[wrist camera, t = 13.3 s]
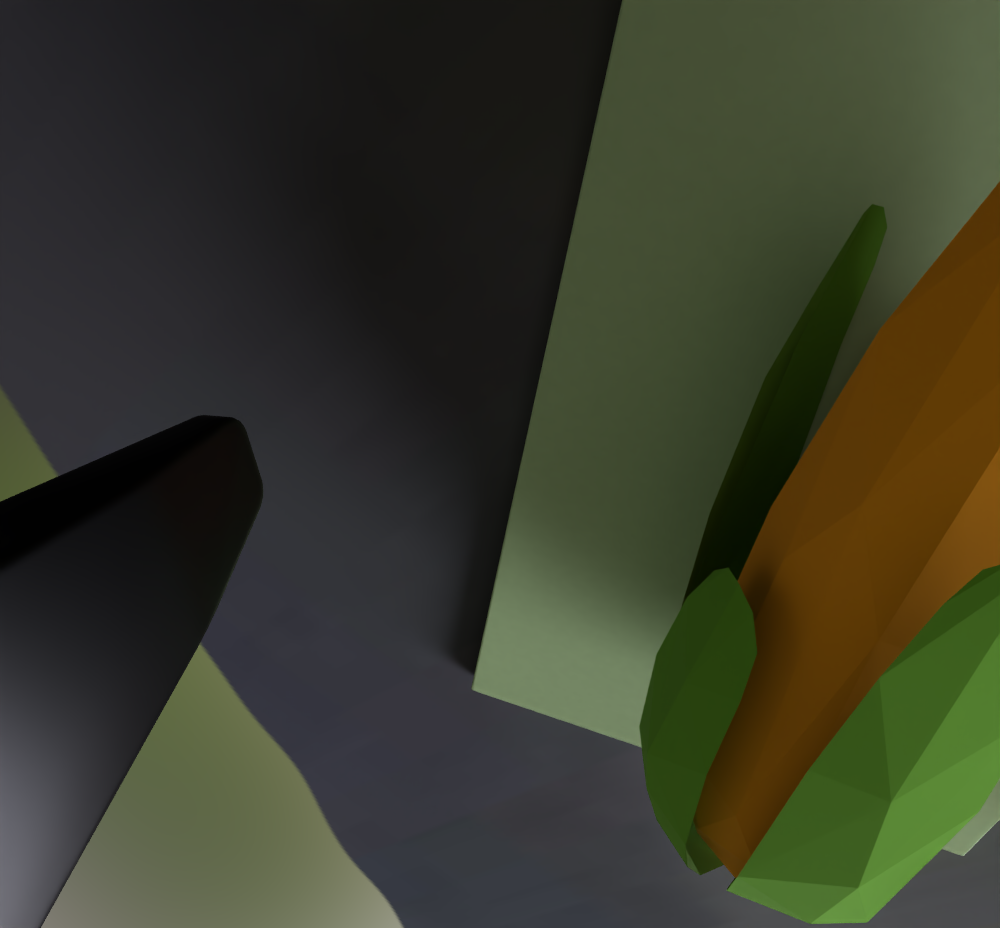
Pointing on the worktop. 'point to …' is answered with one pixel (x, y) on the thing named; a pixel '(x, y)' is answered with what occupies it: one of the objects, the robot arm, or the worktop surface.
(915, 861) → the corn
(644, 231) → the mat
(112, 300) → the worktop surface
